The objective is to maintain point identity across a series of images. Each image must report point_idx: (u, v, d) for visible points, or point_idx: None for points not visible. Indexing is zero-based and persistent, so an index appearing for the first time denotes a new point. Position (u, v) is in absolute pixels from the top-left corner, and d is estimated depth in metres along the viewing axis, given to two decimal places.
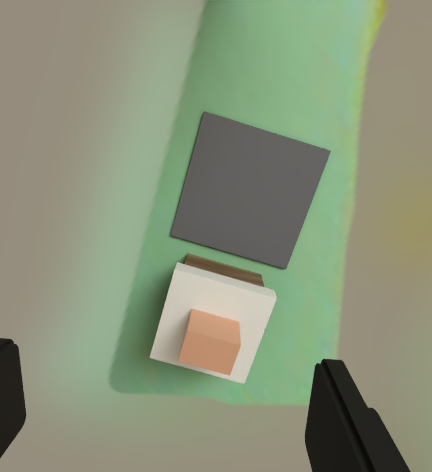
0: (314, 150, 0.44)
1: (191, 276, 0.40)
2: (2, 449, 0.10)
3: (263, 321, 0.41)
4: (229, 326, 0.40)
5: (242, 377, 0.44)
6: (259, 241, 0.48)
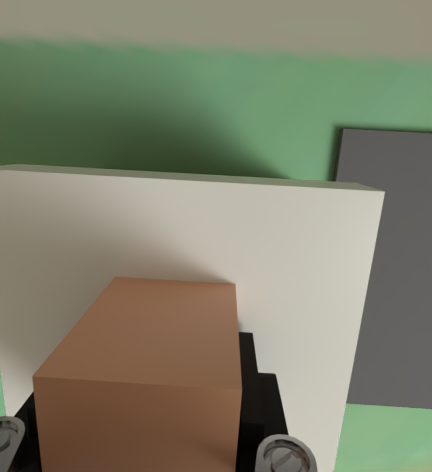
0: None
1: (362, 258, 0.11)
2: None
3: None
4: None
5: None
6: (358, 337, 0.21)
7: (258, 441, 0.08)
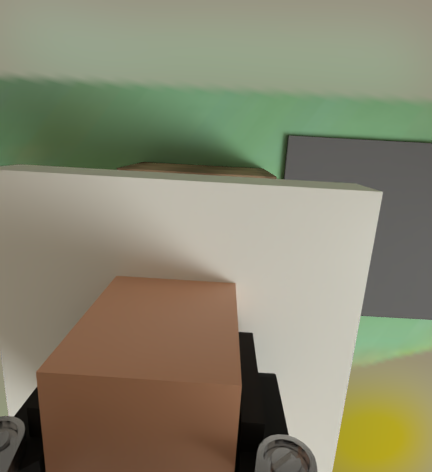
0: None
1: (361, 257, 0.11)
2: None
3: None
4: None
5: None
6: None
7: (258, 441, 0.08)
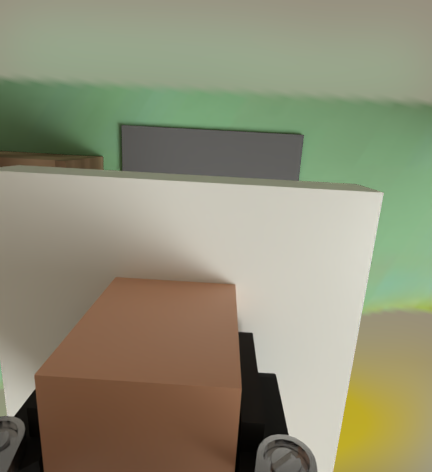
0: None
1: (361, 258, 0.11)
2: None
3: None
4: None
5: None
6: None
7: (258, 441, 0.08)
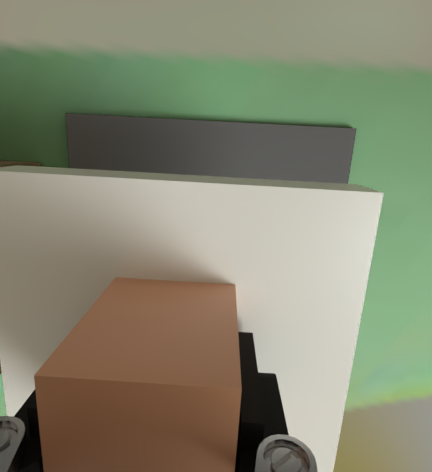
0: None
1: (361, 258, 0.11)
2: None
3: None
4: None
5: None
6: None
7: (258, 441, 0.08)
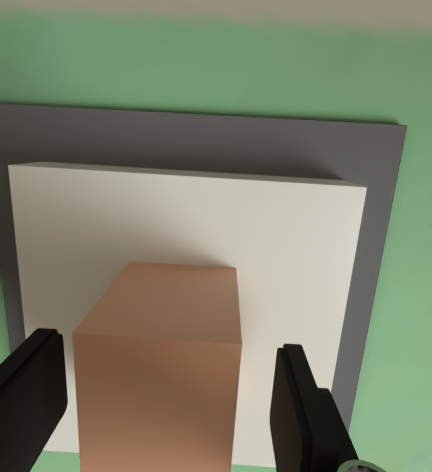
0: None
1: (347, 245, 0.12)
2: (49, 432, 0.11)
3: (242, 455, 0.15)
4: None
5: (54, 442, 0.15)
6: None
7: (331, 466, 0.07)
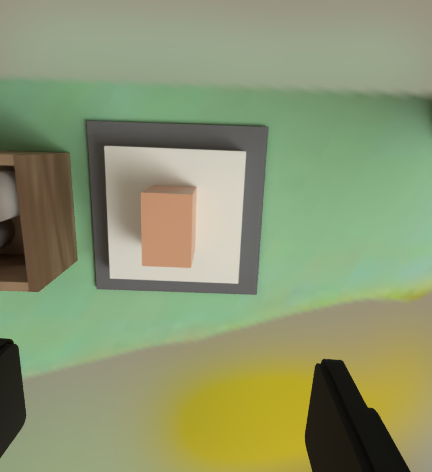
0: (252, 276, 0.36)
1: (241, 175, 0.31)
2: (2, 449, 0.10)
3: (204, 277, 0.33)
4: (194, 241, 0.31)
5: (118, 274, 0.33)
6: None
7: None
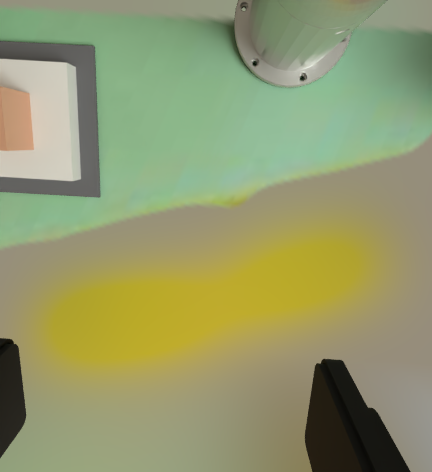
0: (94, 180, 0.42)
1: (64, 84, 0.37)
2: (2, 449, 0.10)
3: (43, 174, 0.40)
4: (24, 137, 0.37)
5: None
6: None
7: None
